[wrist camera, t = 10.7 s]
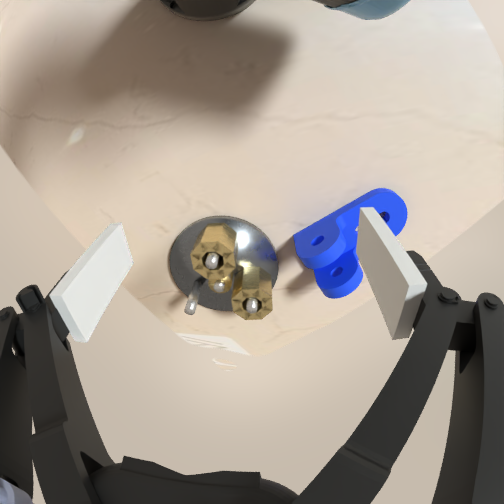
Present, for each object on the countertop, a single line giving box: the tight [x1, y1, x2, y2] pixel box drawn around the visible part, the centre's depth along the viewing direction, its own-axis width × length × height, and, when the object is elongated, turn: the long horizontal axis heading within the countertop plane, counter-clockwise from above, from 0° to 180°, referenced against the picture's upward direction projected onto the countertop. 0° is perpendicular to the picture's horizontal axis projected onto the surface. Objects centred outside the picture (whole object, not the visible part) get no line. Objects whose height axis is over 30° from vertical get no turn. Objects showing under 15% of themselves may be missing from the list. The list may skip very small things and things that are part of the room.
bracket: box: [293, 188, 407, 299], centre depth 42 cm, size 18×8×9 cm, turn 124°
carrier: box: [170, 216, 278, 320], centre depth 46 cm, size 18×18×8 cm
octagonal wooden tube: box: [190, 222, 239, 279], centre depth 43 cm, size 6×6×6 cm
